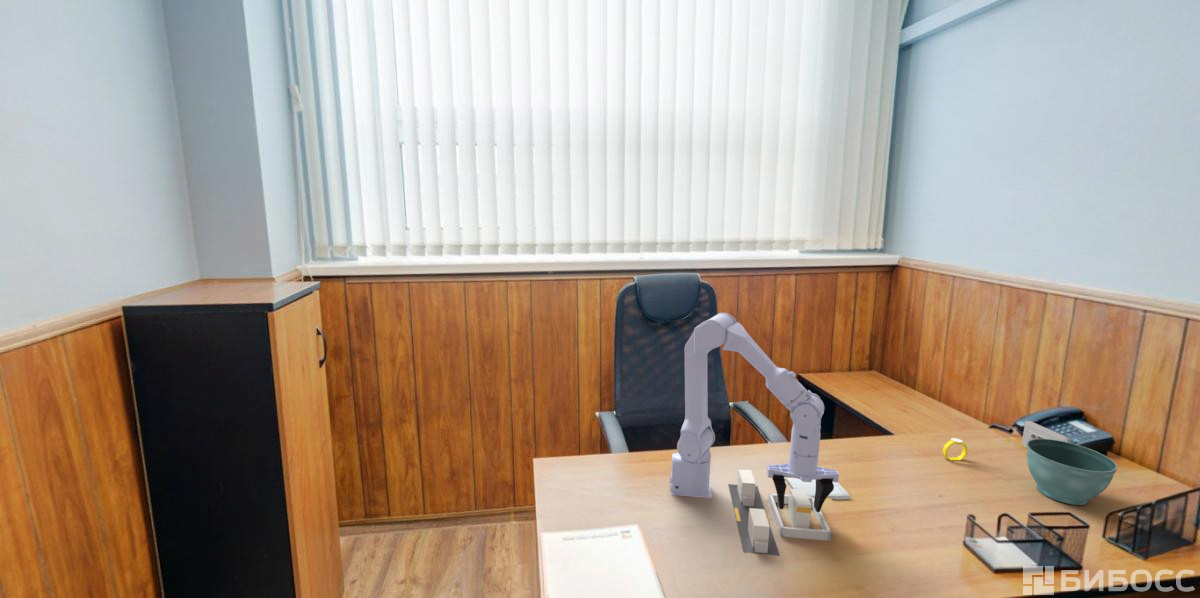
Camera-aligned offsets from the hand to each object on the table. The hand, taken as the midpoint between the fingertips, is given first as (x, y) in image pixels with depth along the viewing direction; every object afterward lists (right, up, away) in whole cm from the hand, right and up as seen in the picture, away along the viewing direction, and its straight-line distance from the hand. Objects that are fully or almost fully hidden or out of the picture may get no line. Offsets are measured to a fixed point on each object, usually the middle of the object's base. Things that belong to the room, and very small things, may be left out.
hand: (798, 508), depth 114 cm
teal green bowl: (+69, -2, +12) cm, 70 cm away
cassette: (+81, +2, +33) cm, 88 cm away
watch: (+54, +1, +29) cm, 61 cm away
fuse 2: (-11, -4, -6) cm, 13 cm away
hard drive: (+10, -2, +14) cm, 17 cm away
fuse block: (-10, -3, +2) cm, 11 cm away
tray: (0, -3, +1) cm, 3 cm away
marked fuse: (0, -3, 0) cm, 3 cm away
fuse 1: (-9, -1, +9) cm, 13 cm away
